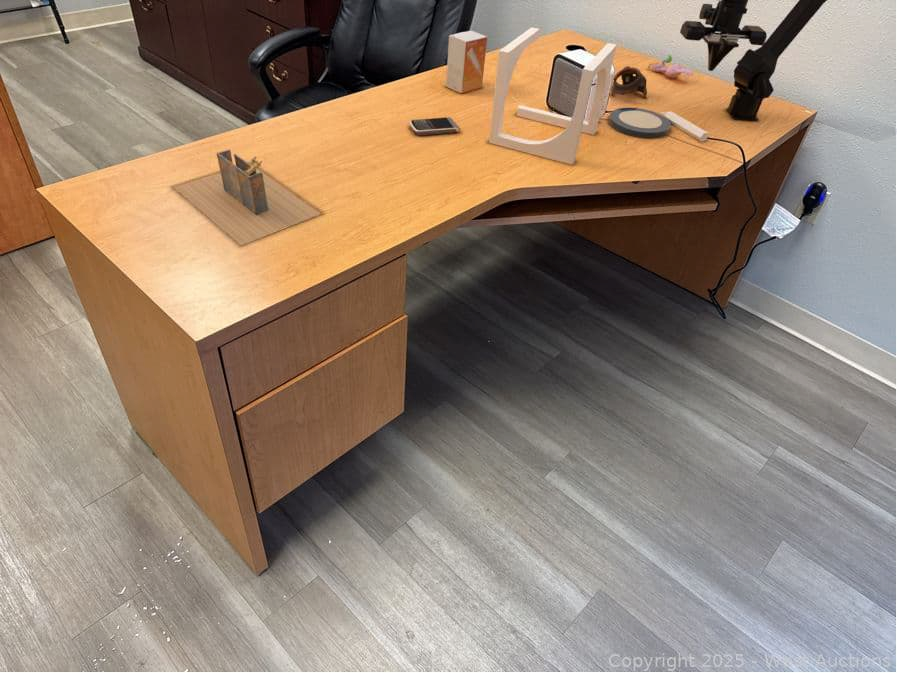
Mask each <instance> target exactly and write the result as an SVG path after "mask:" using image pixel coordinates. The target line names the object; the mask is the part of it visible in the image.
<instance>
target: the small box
mask: <svg viewBox="0 0 897 673" xmlns="http://www.w3.org/2000/svg"><path fill="white" fill-rule="evenodd" d="M487 43H488V36H487V35H484V34H481V33H479V32H477V31H474V30H472V29H471V30H467V31H461V32H457V33H454V34H453V33H452V34H449V35H448V46H447V47H448V48H447V64H446V79H445V87H446V88H448V89H450V90H453V91H455V92H457V93H460V94H464V93H467V92H471V91H474V90H477V89H482V88H483V82H484V81H483V80H484V71H485V62H486V54H487Z"/></svg>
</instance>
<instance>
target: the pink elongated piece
mask: <svg viewBox="0 0 897 673" xmlns="http://www.w3.org/2000/svg"><path fill="white" fill-rule="evenodd" d="M672 60H673V56H672V55H671V54H668V55H667V58H664V60H662V61H660V62H655V63H653V62H652V63H650V62H649V64H648V66H647V69H650V68H651V70H652V72H653V73H662V74H665V76H666V77H668V78H671V79H673V78H678V77H679V76H680V75H681V74H684V75H685V76H687V77H691V76H692V77H693V76H694V72H693V70H692V69H690V68H687V67H683V66H681V64H678V63H673V64H670V65H669V66H668V67H667V66H666V64H669V63H671V62H672Z"/></svg>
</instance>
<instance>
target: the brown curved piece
mask: <svg viewBox="0 0 897 673" xmlns="http://www.w3.org/2000/svg"><path fill="white" fill-rule="evenodd" d="M619 78H621V81H622V84H621V83H619V82H617V81H618V79H619ZM638 93H640V94H641V93H642V95H643V96H644V97H643V98H644V99H647V94H648V89H647V78H646V76H645V75H644V74H643V73H642V72H641V70H640V69H639V68H637V67H631V66H628V65H627V66H625V67H623V69H621V70H619V71H618V72H616V74H615V75H614V76H613V81H612V85H611V87H610V94H611V96H614V95H619V96H624V95H629V94H636V95H637V94H638Z"/></svg>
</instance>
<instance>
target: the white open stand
mask: <svg viewBox="0 0 897 673" xmlns="http://www.w3.org/2000/svg"><path fill="white" fill-rule="evenodd" d="M540 32H541V29H540V28H537V27H533V26H532V27H530V28H529V29H527V30H525V31H524V32H523V33H522V34H521V35H519V36H517V37H515V39H513V40H512V41H511V42H509V43H508V44H506V45H505V46H504V47H502V48H501V49H499V51H498V57H497V58H498V60H497V66H496V77H495V83H494V84H495V86H494V93H493V94H494V95H493V102H492V110H491V121H490V130H489V137H488V143H489V144H492V145H497V146H500V147H504V148H507V149H511V150H516V151H518V152H522V153H526V154H530V155H534V156H538V157H541V158H545V159H549V160H553V161H557V162H561V163H564V164H567V165H572V166H573V165H574V163H575V162H576V159H577V153H578V150H579V149H578V148H579V144H580V141H581V140H580V139H581V136H582V133H584V134H588V135H593V136H594V135H595V134H596V133H597V129H598V127H599V126H598V125H599V122H600V118H601V114H602V108H603V105H604V100H605V97H606V92H607V88H608V84H609V79H610V76H611V71H612V67H613V63H614V58H615V54H616V50H617V46H618V44H615V43H612V42H608V43H606V44H605V46H604V47H602V48H601V50H600V51H599V52H598V53H597V54H596V55H595V56H594V57H593V58H591V60H590V61H589V62H588V63H587V64H586V65H585V66H584V67H583V69H582V71H581V77H580V82H579V86H578V91H577V96H576V101H575V105H574V106H575V107H574V110H573V114H572V116H571V117H570V116H567V115H562V114H558V113H554V112H550V111H546V110H542V109H539V108H534V107H529V106H526V105H522V104H520V105H518V107H517V110H516V117H520V118H524V119H528V120H531V121H536V122H539V123H544V124H548V125H552V126H556V127H559V128H560V127H561V128H563V130H562V131H561V132H560V133H558V134H557V135H555V136H552V137H551V138H547V139H543V140H530V139H526V138H521V137H517V136H513V135H510V134H506V133H503V132H502V131H503V130H502V129H503V124H504V114H505V106H506V100H507V95H508V90H509V86H510V83H511V79H512V76H513V73H514V71H515V68H516V65H517V63H518V61H519V60H520V57H521V56H522V54H523V53H524V51H525V50H526V49H527V48H528V47H529V46H530V45H532V44H533V43H534V42H536V41H537V40H538V39H539V37H540ZM595 77H596V83H595V90H594V95H593V100H592V104H591V109H590V112H589V117H588V121H587V120H585V118H586V112H587V109H588V103H589V99H590V95H591V90H592V85H593V81H594V78H595Z"/></svg>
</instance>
